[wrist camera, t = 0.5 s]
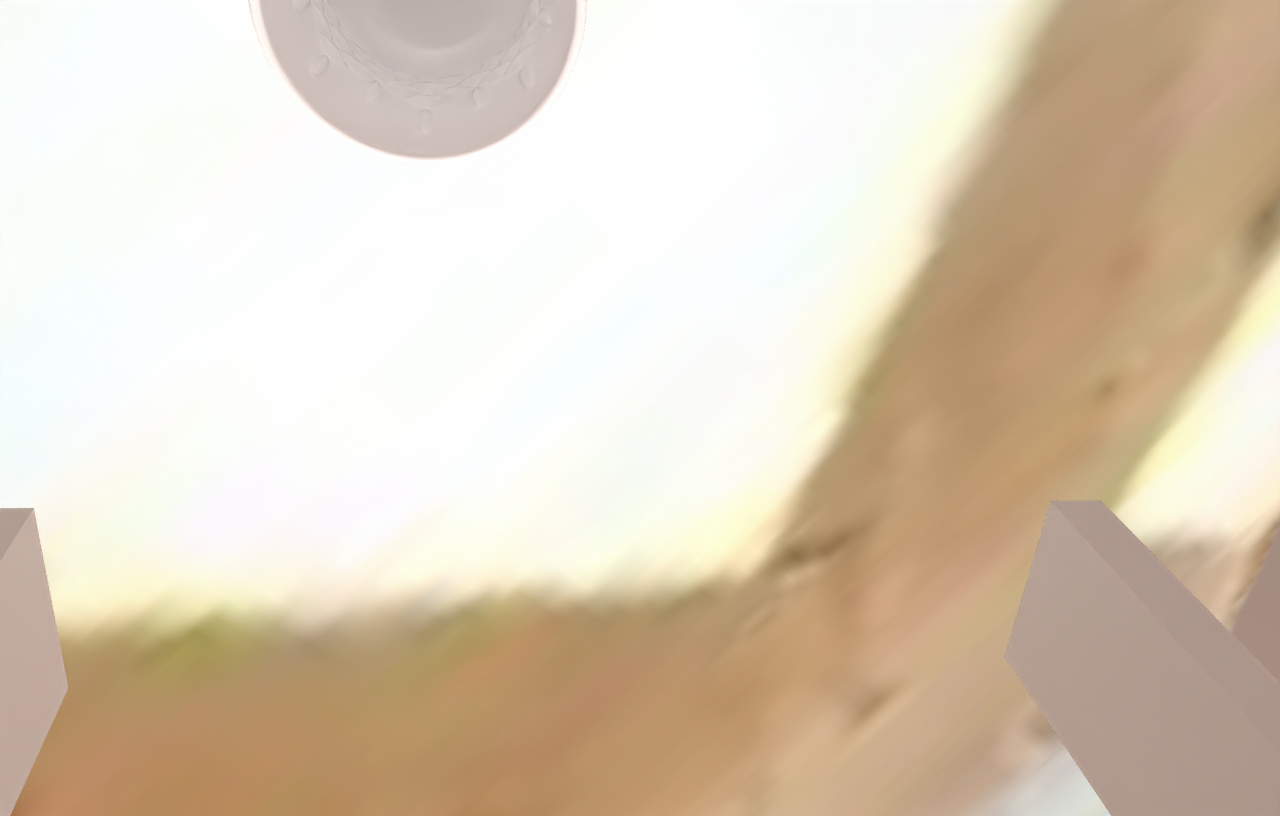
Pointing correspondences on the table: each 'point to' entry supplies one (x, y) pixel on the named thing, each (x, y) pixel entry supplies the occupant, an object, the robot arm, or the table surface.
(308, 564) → the table surface
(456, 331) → the table surface
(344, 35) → the white cup
